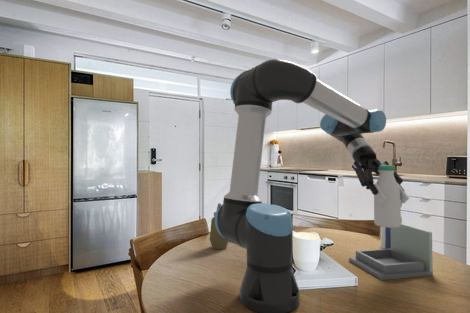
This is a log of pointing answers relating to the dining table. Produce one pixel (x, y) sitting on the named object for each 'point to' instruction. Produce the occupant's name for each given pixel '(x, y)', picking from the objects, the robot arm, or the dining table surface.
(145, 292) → the dining table surface
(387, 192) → the milk bottle
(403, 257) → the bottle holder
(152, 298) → the dining table surface
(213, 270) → the dining table surface
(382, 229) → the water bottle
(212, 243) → the squeeze bottle
